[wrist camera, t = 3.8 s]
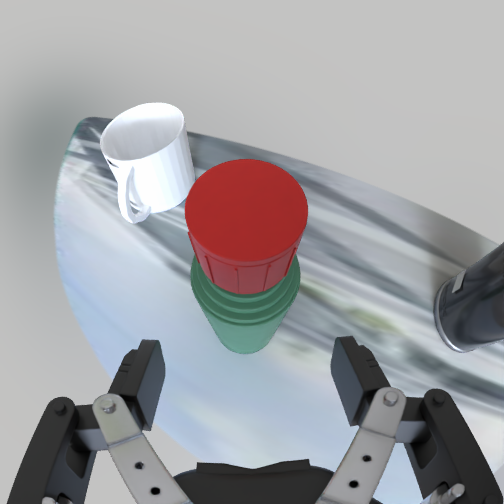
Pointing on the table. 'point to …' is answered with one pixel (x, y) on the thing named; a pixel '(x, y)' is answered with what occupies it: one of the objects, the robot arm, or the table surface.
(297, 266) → the bottle
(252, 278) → the cap
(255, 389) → the table surface
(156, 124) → the mug
